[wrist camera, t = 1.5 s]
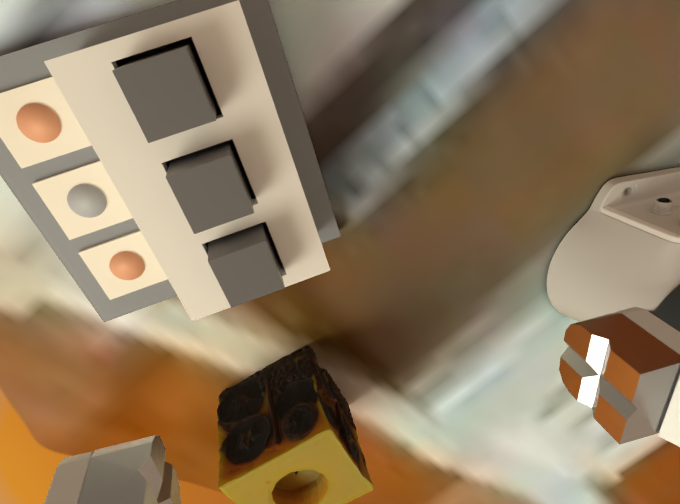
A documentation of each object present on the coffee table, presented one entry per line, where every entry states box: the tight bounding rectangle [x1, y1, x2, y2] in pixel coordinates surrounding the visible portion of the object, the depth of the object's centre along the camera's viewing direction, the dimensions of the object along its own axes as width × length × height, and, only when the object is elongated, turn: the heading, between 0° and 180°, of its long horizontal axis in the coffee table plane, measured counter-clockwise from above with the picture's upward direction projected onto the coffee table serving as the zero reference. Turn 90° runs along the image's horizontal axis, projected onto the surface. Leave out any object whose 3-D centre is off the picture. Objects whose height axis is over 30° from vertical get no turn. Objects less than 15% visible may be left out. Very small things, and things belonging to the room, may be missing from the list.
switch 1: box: [112, 41, 216, 143], centre depth 25 cm, size 4×4×6 cm
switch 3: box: [208, 222, 285, 308], centre depth 30 cm, size 4×4×6 cm
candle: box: [217, 346, 374, 504], centre depth 41 cm, size 10×10×10 cm
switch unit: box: [0, 0, 341, 322], centre depth 29 cm, size 20×19×7 cm
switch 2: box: [166, 139, 254, 234], centre depth 27 cm, size 4×4×6 cm
